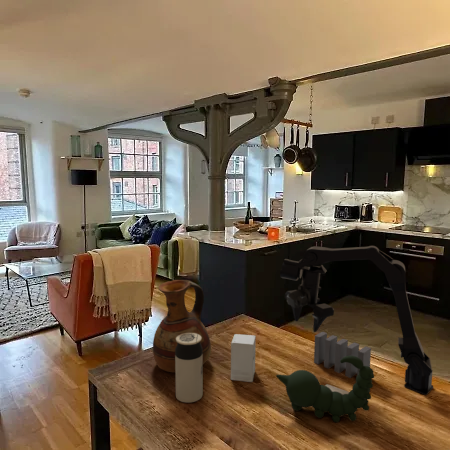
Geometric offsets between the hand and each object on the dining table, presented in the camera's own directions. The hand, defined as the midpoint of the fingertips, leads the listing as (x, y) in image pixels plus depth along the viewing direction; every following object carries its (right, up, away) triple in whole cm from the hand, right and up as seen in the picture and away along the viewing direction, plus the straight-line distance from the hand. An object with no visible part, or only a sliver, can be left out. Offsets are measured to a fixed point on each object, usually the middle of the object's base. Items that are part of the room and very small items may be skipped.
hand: (305, 326), depth 126 cm
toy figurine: (-2, -17, -26) cm, 31 cm away
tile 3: (+11, -14, -3) cm, 18 cm away
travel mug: (-39, -16, -18) cm, 46 cm away
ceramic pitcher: (-43, -14, +1) cm, 45 cm away
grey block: (+14, -14, -6) cm, 21 cm away
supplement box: (-22, -14, -7) cm, 27 cm away
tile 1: (+6, -13, +3) cm, 15 cm away
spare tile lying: (+6, -16, -19) cm, 26 cm away
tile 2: (+9, -14, 0) cm, 16 cm away
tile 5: (+17, -15, -9) cm, 24 cm away
